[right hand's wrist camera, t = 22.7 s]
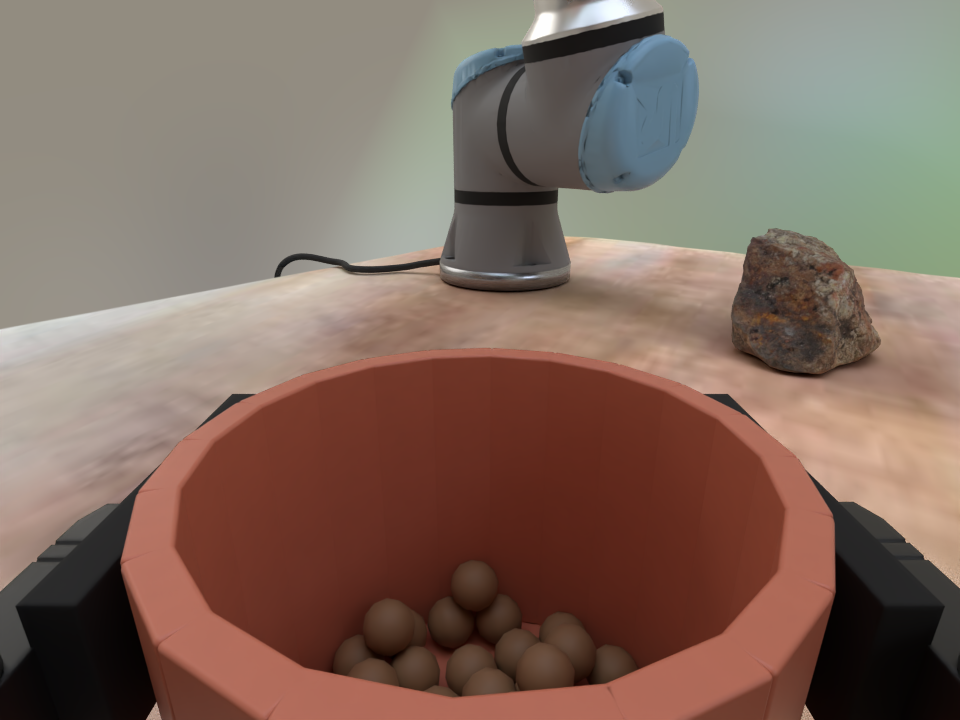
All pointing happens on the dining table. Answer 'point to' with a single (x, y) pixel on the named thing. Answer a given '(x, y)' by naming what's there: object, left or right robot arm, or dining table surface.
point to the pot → (480, 540)
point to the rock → (800, 306)
